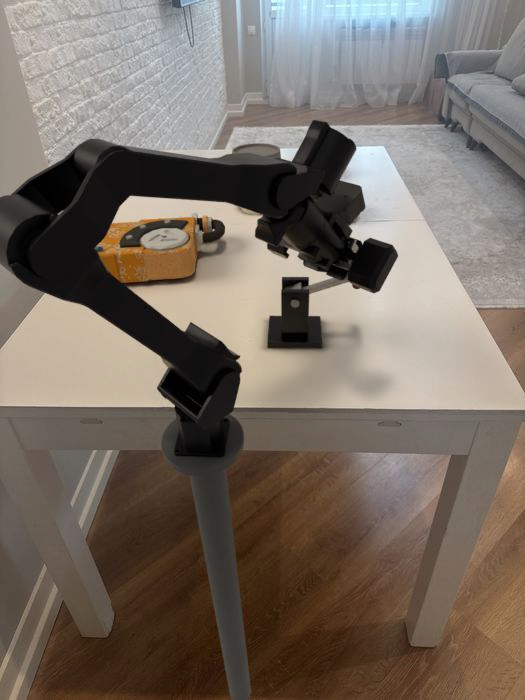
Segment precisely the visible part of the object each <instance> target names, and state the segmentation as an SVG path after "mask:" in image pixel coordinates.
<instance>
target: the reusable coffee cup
mask: <svg viewBox="0 0 525 700" xmlns="http://www.w3.org/2000/svg"><path fill="white" fill-rule="evenodd" d="M246 152H248V153H254V154H257V155H261V156H265V157H269V158H281V159H282V154H281V147H280V146H278V145H275V144H271V143H263V142H256V143H245V144H241V145H237V146H235V147H234V148H233V149H232V150H231V154H235V153H246ZM240 209H241V211H242V212H243V213H245V214H248V215H252V216H253V215H257V216H260V215H262V214H259V213H256V212H253V211H250V210H247V209H244V208H242V207H240Z"/></svg>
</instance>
